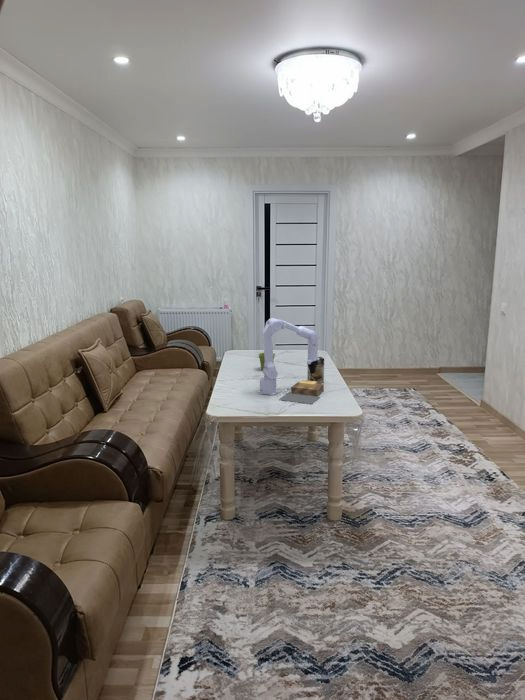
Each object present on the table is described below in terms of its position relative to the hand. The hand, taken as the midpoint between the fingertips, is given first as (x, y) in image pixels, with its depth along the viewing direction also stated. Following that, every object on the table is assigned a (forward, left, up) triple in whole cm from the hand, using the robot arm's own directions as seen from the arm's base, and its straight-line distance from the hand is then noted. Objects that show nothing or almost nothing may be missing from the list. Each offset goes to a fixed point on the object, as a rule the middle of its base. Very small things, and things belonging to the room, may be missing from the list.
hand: (312, 373), depth 307 cm
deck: (0, -9, -9) cm, 13 cm away
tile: (0, -8, -5) cm, 10 cm away
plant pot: (-43, +29, -10) cm, 53 cm away
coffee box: (-2, +12, -10) cm, 15 cm away
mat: (0, -22, -9) cm, 24 cm away
